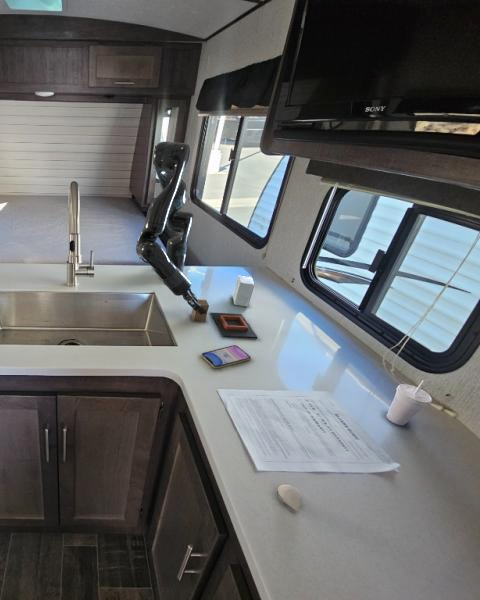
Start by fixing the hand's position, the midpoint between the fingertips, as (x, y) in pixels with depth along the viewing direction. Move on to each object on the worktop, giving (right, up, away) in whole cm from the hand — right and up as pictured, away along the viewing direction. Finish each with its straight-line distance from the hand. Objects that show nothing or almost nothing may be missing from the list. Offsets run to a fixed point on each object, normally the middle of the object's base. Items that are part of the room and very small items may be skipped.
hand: (201, 309), depth 125 cm
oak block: (-1, -4, +2) cm, 4 cm away
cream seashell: (-5, -38, -59) cm, 70 cm away
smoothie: (+36, -28, -40) cm, 61 cm away
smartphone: (+1, -15, -19) cm, 24 cm away
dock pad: (+11, -6, -2) cm, 13 cm away
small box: (+22, +3, +15) cm, 27 cm away
